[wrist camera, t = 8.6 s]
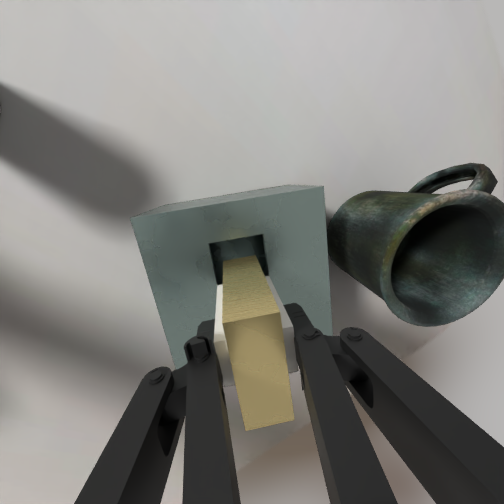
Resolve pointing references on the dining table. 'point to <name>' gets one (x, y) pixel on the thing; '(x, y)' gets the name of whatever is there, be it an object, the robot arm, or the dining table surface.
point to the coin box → (235, 254)
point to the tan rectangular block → (255, 344)
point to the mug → (425, 245)
